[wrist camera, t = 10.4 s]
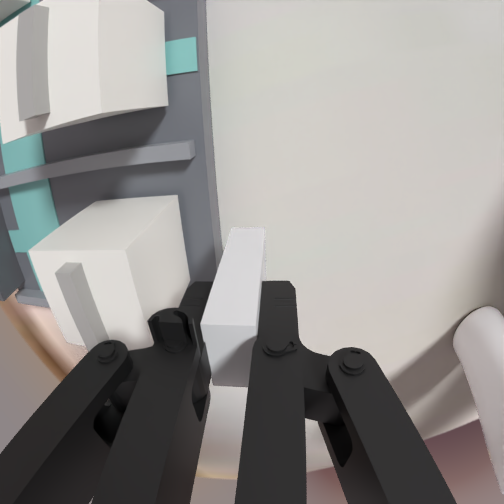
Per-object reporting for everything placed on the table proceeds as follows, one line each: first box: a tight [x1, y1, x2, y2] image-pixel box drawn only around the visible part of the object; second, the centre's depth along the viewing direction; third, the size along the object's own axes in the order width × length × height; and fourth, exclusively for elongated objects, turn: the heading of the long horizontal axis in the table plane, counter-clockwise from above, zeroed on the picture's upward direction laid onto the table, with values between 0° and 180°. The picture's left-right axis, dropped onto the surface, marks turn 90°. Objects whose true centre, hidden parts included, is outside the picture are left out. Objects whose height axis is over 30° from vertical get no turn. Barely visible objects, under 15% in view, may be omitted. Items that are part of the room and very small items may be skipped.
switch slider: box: [28, 195, 190, 352], centre depth 13 cm, size 5×5×7 cm
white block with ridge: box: [0, 0, 168, 144], centre depth 9 cm, size 5×5×7 cm
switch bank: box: [0, 0, 223, 308], centre depth 12 cm, size 18×30×5 cm, turn 2°
